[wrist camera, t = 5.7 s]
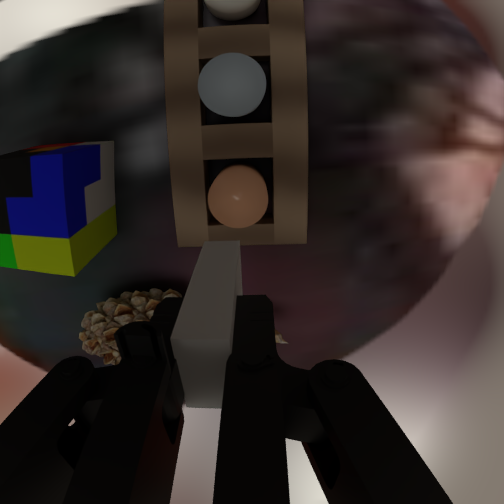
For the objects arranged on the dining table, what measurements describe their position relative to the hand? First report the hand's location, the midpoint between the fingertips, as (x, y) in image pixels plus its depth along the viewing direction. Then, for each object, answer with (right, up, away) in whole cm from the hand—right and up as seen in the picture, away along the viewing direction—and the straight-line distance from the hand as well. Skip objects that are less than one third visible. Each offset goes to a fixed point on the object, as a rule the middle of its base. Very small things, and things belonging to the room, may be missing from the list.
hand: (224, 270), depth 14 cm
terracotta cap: (0, +7, +16) cm, 18 cm away
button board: (0, +15, +13) cm, 20 cm away
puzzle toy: (-18, +8, +17) cm, 26 cm away
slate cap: (0, +14, +11) cm, 18 cm away
